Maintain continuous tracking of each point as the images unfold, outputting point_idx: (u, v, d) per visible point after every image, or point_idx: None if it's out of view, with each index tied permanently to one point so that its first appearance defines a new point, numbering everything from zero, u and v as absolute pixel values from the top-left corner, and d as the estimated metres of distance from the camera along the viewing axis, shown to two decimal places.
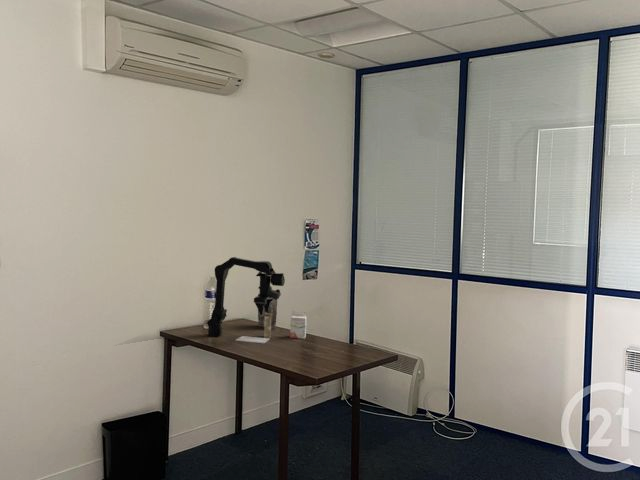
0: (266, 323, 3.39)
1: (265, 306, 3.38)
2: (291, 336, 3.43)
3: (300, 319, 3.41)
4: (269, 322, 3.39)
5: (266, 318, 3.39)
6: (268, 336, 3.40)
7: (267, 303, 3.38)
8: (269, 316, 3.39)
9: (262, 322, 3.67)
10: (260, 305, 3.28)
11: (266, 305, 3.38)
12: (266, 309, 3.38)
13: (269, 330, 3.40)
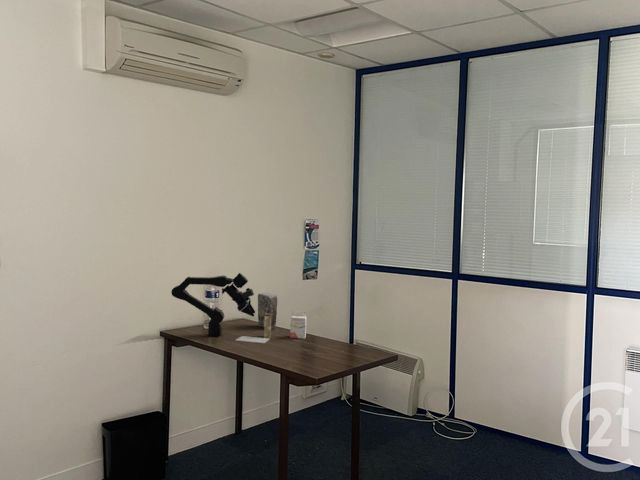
0: (266, 323, 3.39)
1: None
2: (291, 336, 3.43)
3: (300, 319, 3.41)
4: (269, 322, 3.39)
5: (266, 318, 3.39)
6: (268, 336, 3.40)
7: (249, 306, 3.45)
8: (269, 316, 3.39)
9: (262, 322, 3.67)
10: (246, 309, 3.35)
11: (250, 308, 3.45)
12: (252, 311, 3.45)
13: (269, 330, 3.40)
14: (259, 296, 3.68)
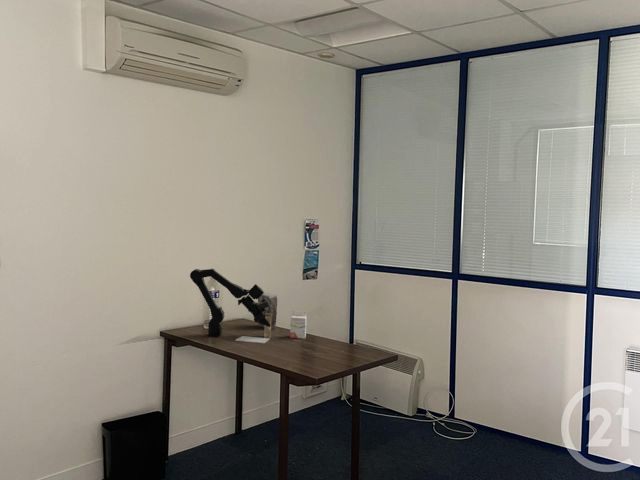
0: None
1: None
2: (291, 336, 3.43)
3: (300, 319, 3.41)
4: (269, 322, 3.39)
5: (266, 318, 3.39)
6: (268, 336, 3.40)
7: None
8: (269, 316, 3.39)
9: None
10: (263, 320, 3.38)
11: None
12: None
13: (269, 330, 3.40)
14: None
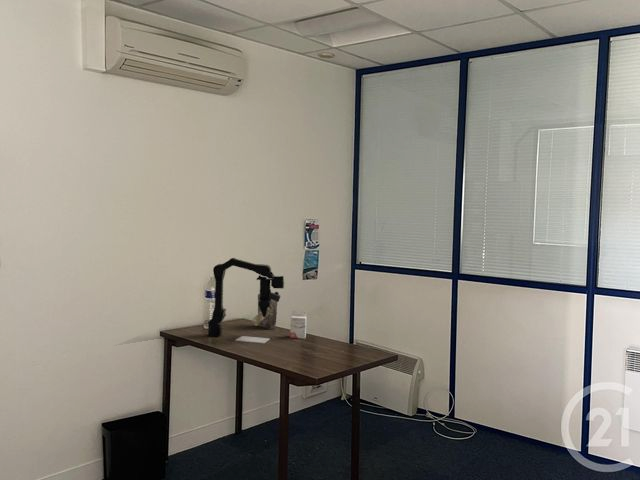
0: None
1: None
2: (291, 336, 3.43)
3: (300, 319, 3.41)
4: (266, 313, 3.36)
5: (267, 308, 3.36)
6: (256, 323, 3.36)
7: None
8: (271, 309, 3.36)
9: (262, 322, 3.67)
10: (263, 307, 3.35)
11: None
12: None
13: (261, 319, 3.36)
14: (259, 296, 3.68)
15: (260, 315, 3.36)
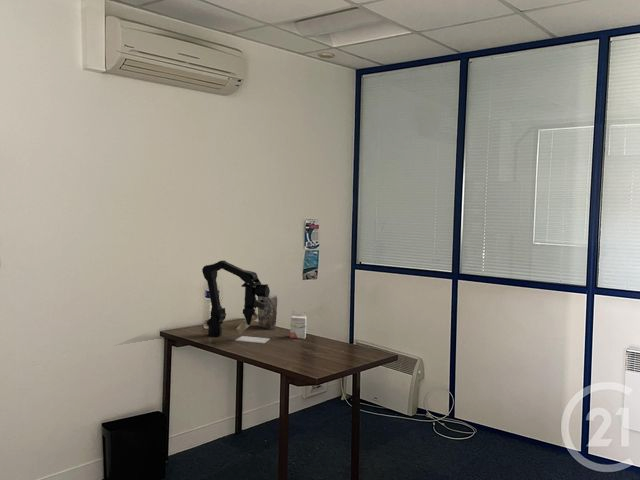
0: None
1: None
2: (291, 336, 3.43)
3: (300, 319, 3.41)
4: (251, 321, 3.31)
5: (252, 316, 3.30)
6: (240, 331, 3.31)
7: None
8: (255, 317, 3.31)
9: (262, 322, 3.67)
10: (248, 315, 3.29)
11: None
12: None
13: (245, 327, 3.31)
14: (259, 296, 3.68)
15: (245, 323, 3.30)
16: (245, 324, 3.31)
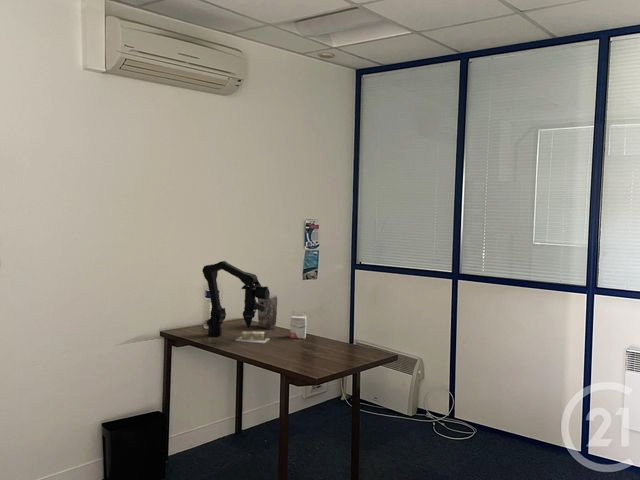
0: (256, 335, 3.32)
1: None
2: (291, 336, 3.43)
3: (300, 319, 3.41)
4: (257, 338, 3.32)
5: (261, 335, 3.32)
6: (243, 338, 3.31)
7: None
8: (264, 338, 3.33)
9: (262, 322, 3.67)
10: (248, 318, 3.27)
11: None
12: None
13: (249, 338, 3.32)
14: None
15: (252, 335, 3.32)
16: (251, 336, 3.32)
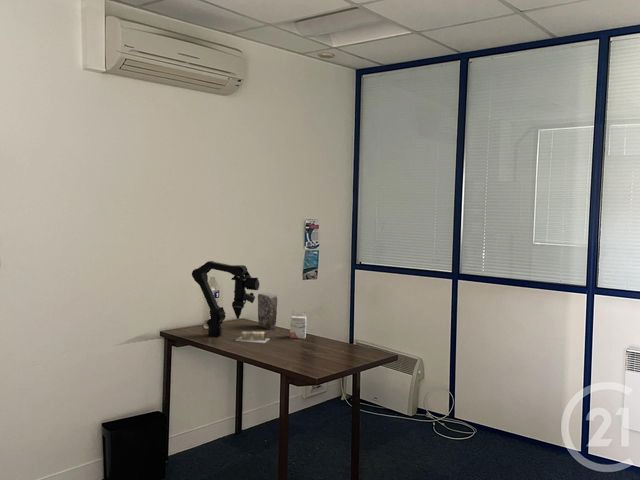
0: (256, 335, 3.32)
1: None
2: (291, 336, 3.43)
3: (300, 319, 3.41)
4: (257, 338, 3.32)
5: (261, 335, 3.32)
6: (243, 338, 3.31)
7: None
8: (264, 338, 3.33)
9: (262, 322, 3.67)
10: (237, 309, 3.30)
11: None
12: None
13: (249, 338, 3.32)
14: (259, 296, 3.68)
15: (252, 335, 3.32)
16: (251, 336, 3.32)
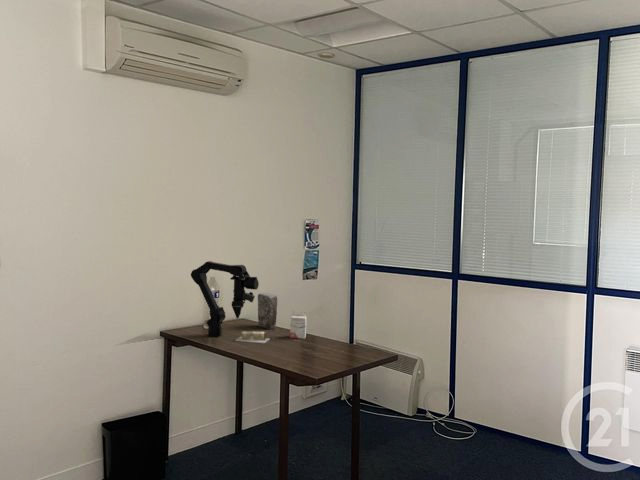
0: (256, 335, 3.32)
1: None
2: (291, 336, 3.43)
3: (300, 319, 3.41)
4: (257, 338, 3.32)
5: (261, 335, 3.32)
6: (243, 338, 3.31)
7: None
8: (264, 338, 3.33)
9: (262, 322, 3.67)
10: (237, 308, 3.30)
11: None
12: None
13: (249, 338, 3.32)
14: (259, 296, 3.68)
15: (252, 335, 3.32)
16: (251, 336, 3.32)
